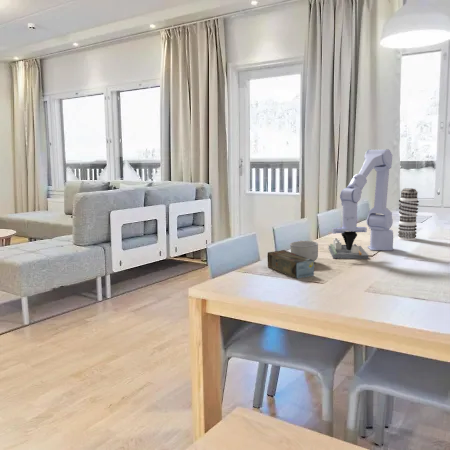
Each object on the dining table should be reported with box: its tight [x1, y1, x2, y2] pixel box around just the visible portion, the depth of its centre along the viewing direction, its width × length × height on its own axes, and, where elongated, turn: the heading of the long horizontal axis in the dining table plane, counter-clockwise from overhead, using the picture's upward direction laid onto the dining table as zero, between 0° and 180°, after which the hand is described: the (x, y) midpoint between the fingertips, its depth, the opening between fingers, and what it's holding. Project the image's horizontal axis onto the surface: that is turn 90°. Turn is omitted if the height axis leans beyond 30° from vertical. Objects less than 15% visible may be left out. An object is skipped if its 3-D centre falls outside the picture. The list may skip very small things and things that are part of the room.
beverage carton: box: [267, 249, 315, 279], centre depth 168 cm, size 8×19×7 cm, turn 27°
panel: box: [327, 243, 369, 260], centre depth 197 cm, size 14×20×2 cm
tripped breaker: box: [351, 243, 360, 253], centre depth 190 cm, size 2×4×3 cm, turn 173°
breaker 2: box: [335, 241, 342, 250], centre depth 197 cm, size 2×4×3 cm, turn 173°
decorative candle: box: [397, 187, 420, 241], centre depth 228 cm, size 9×9×25 cm
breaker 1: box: [332, 237, 341, 247], centre depth 204 cm, size 2×4×3 cm, turn 173°
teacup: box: [289, 240, 319, 262], centre depth 182 cm, size 14×11×8 cm
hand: (348, 249), depth 190 cm, fingers closed
